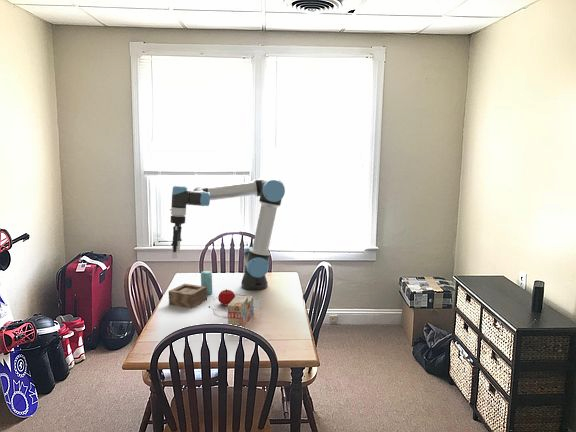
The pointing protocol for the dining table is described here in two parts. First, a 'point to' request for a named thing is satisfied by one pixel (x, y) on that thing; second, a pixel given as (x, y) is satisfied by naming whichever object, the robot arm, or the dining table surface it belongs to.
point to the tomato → (226, 296)
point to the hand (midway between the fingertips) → (175, 255)
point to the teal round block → (207, 281)
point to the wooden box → (187, 295)
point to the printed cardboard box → (240, 310)
